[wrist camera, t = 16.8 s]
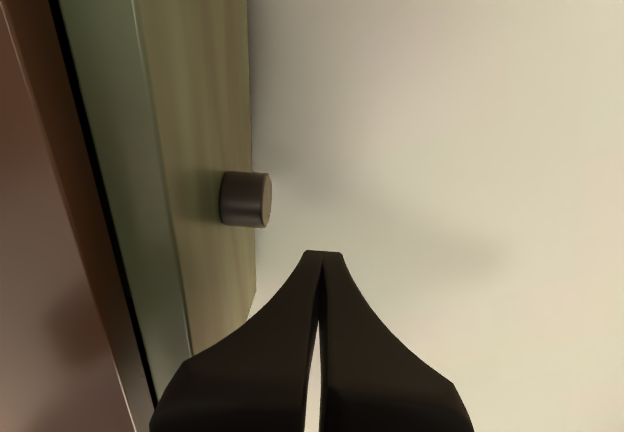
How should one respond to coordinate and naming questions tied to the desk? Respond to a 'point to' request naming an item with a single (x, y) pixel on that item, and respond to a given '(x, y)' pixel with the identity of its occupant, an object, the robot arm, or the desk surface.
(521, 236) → the desk surface
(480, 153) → the desk surface
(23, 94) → the cabinet
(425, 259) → the desk surface
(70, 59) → the drawer
